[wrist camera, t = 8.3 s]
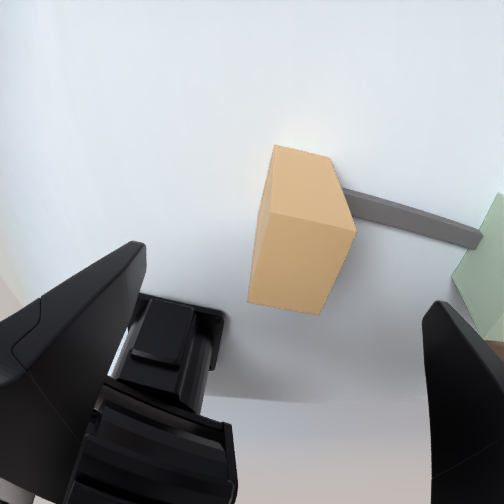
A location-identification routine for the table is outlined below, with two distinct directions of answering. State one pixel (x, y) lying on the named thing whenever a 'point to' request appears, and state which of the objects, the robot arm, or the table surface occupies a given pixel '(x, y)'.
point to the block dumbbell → (342, 235)
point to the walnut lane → (497, 348)
